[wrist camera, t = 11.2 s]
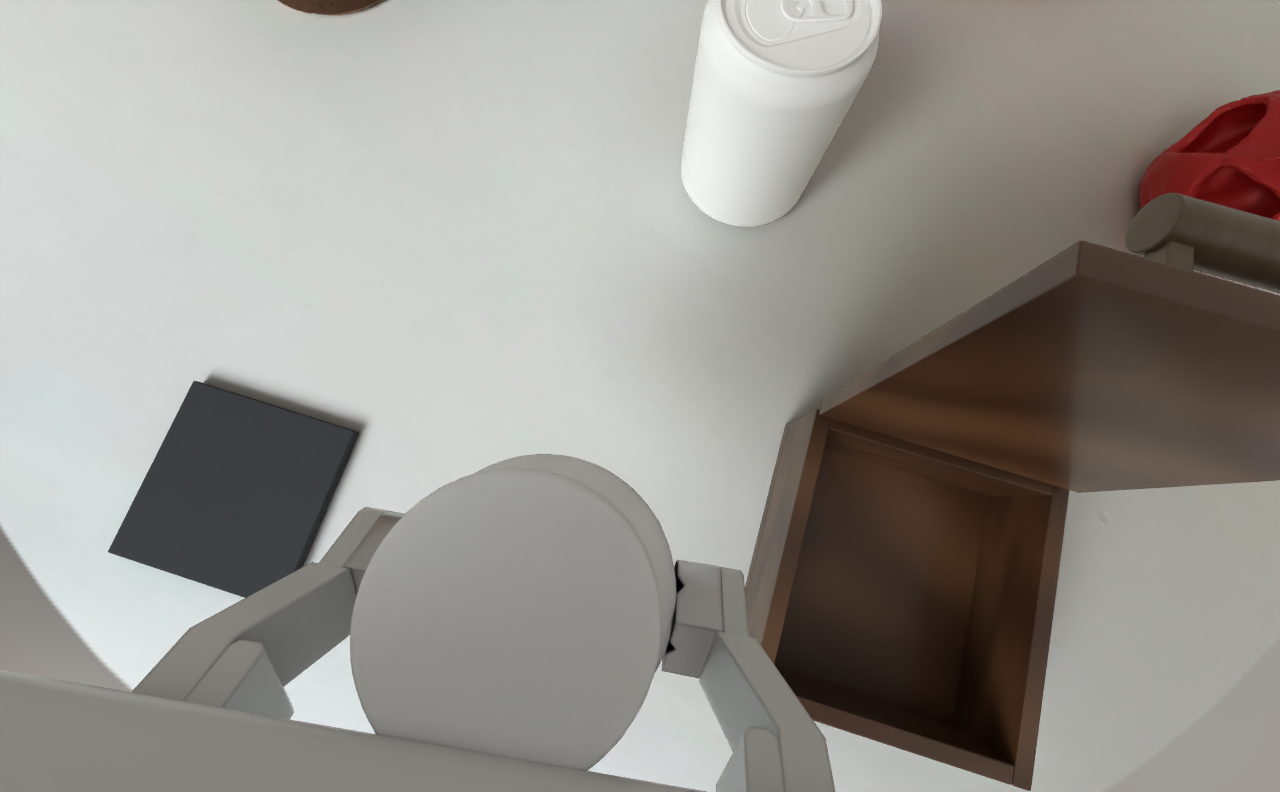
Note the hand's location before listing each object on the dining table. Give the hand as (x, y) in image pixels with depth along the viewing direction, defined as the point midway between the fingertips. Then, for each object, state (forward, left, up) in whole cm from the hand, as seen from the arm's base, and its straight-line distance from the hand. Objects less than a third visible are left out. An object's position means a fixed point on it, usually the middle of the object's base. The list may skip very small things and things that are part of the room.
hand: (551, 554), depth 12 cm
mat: (-4, +20, -17) cm, 27 cm away
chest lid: (+9, -15, -4) cm, 18 cm away
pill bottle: (-1, 0, -6) cm, 6 cm away
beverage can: (+24, -2, -18) cm, 30 cm away
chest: (+2, -15, -17) cm, 23 cm away
